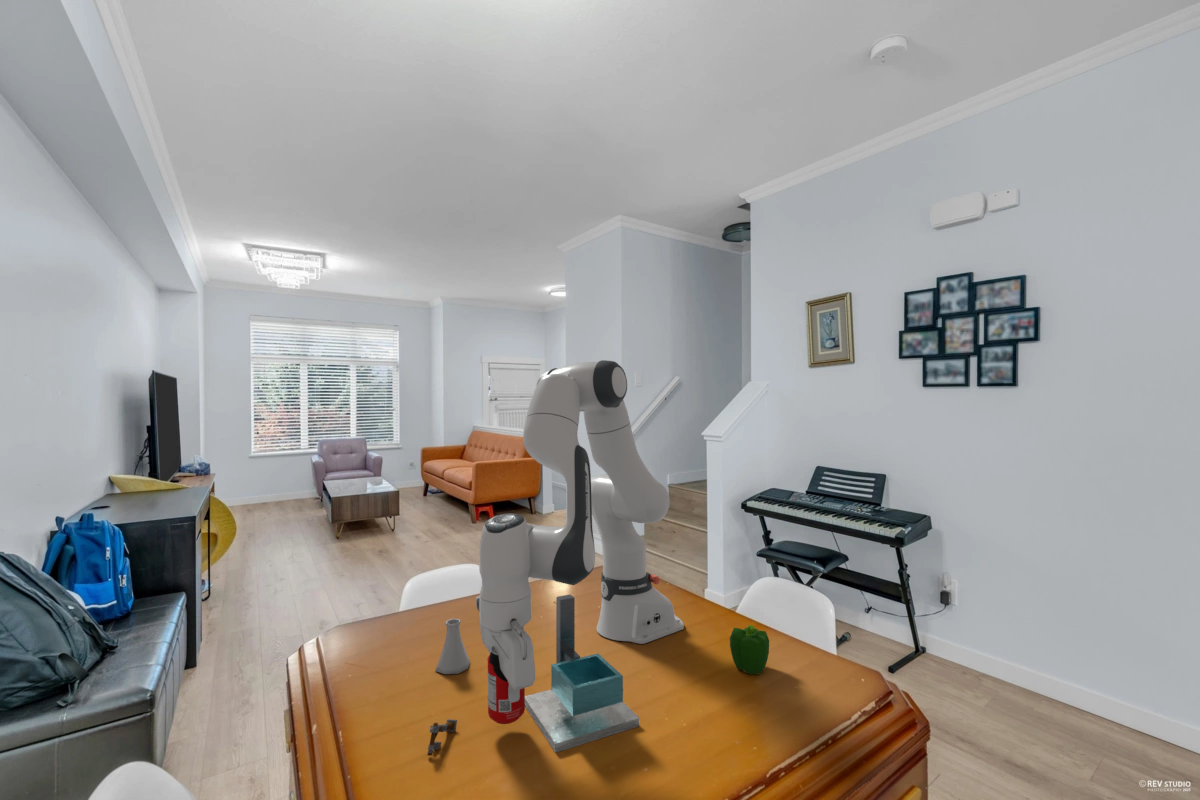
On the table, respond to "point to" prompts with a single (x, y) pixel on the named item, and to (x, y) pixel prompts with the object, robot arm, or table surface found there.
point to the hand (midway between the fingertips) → (506, 689)
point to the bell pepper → (749, 649)
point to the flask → (453, 651)
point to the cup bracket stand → (579, 692)
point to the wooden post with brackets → (440, 728)
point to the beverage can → (501, 694)
